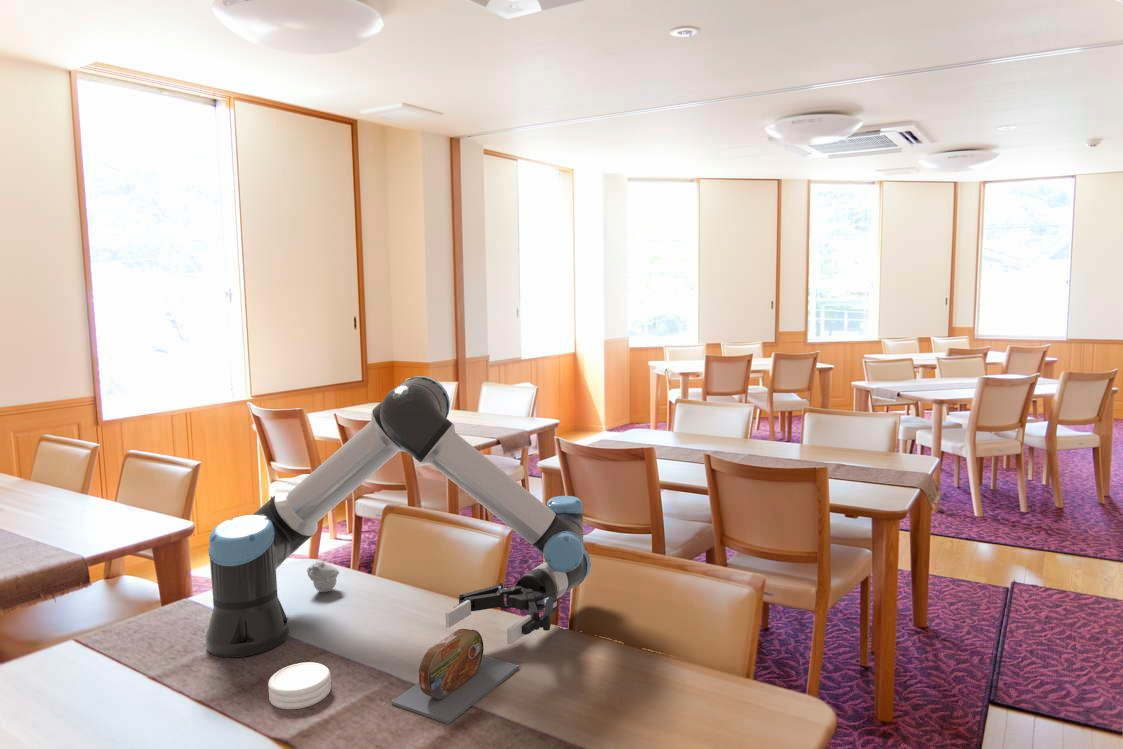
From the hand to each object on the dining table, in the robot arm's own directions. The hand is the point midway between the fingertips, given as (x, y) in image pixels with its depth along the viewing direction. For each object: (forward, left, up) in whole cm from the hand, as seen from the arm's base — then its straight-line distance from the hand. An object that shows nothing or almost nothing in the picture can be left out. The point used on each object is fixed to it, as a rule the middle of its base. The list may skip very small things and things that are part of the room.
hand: (477, 628), depth 136 cm
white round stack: (-23, -20, -9) cm, 32 cm away
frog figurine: (-53, +13, -8) cm, 55 cm away
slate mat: (-1, -5, -8) cm, 10 cm away
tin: (-1, -6, -8) cm, 10 cm away
